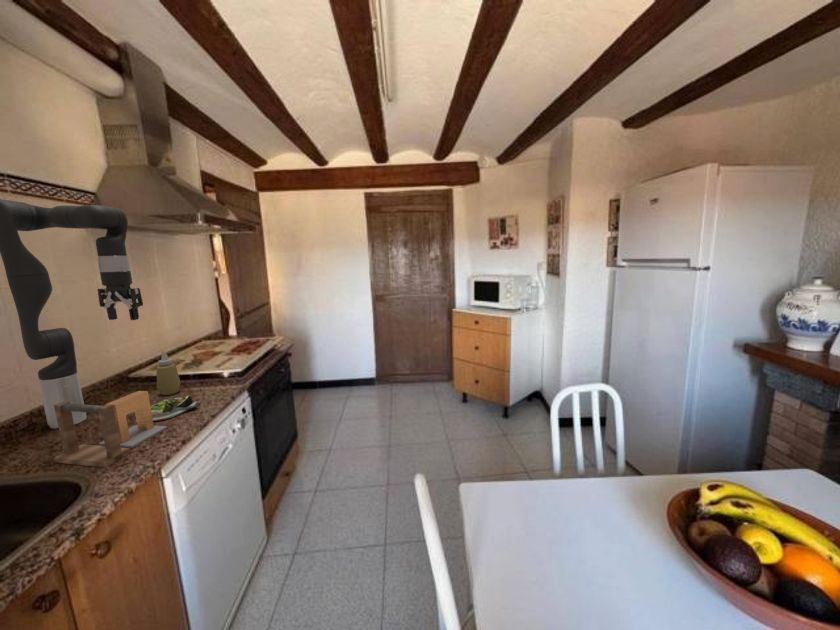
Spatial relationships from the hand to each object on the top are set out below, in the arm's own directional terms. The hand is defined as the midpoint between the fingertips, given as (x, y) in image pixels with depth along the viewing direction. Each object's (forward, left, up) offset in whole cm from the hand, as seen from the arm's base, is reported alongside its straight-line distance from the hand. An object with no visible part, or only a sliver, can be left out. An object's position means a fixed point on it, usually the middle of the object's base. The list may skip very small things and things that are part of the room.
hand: (124, 319), depth 115 cm
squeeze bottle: (-13, +24, -36) cm, 45 cm away
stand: (+8, -21, -36) cm, 42 cm away
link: (+7, -9, -36) cm, 37 cm away
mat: (+8, -9, -36) cm, 38 cm away
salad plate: (+2, +9, -37) cm, 38 cm away
